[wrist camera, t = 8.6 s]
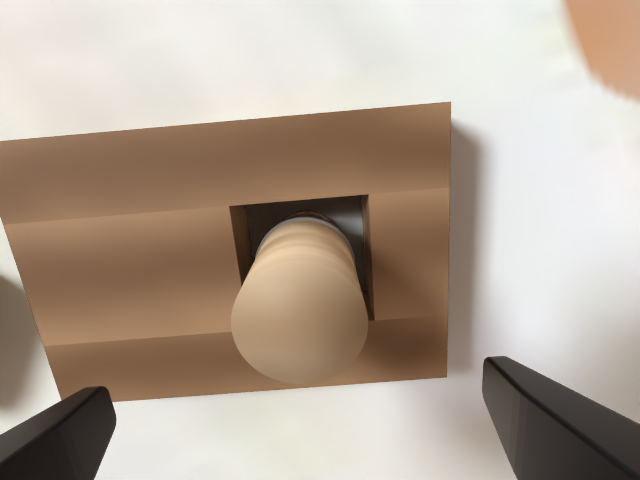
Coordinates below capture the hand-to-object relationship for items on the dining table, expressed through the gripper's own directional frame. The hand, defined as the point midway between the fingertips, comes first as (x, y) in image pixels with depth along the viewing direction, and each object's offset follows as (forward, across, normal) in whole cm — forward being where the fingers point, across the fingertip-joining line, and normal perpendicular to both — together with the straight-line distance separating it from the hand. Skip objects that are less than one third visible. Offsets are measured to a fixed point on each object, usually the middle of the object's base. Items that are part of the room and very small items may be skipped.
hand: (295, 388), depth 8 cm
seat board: (+11, +3, 0) cm, 11 cm away
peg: (+11, 0, 0) cm, 11 cm away
